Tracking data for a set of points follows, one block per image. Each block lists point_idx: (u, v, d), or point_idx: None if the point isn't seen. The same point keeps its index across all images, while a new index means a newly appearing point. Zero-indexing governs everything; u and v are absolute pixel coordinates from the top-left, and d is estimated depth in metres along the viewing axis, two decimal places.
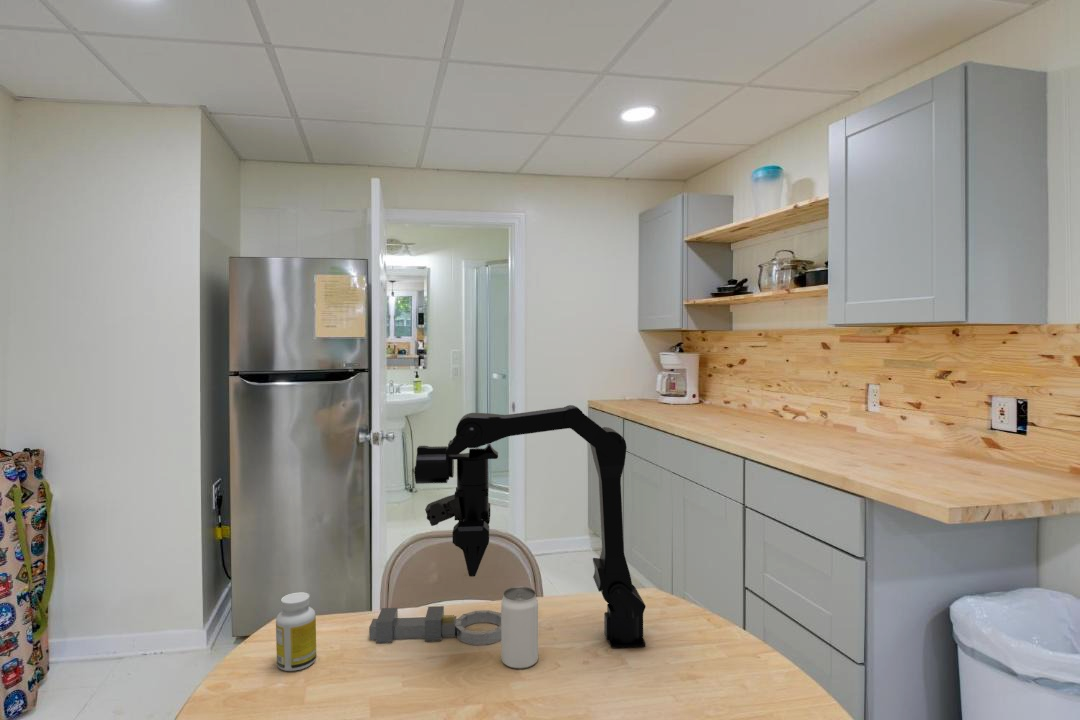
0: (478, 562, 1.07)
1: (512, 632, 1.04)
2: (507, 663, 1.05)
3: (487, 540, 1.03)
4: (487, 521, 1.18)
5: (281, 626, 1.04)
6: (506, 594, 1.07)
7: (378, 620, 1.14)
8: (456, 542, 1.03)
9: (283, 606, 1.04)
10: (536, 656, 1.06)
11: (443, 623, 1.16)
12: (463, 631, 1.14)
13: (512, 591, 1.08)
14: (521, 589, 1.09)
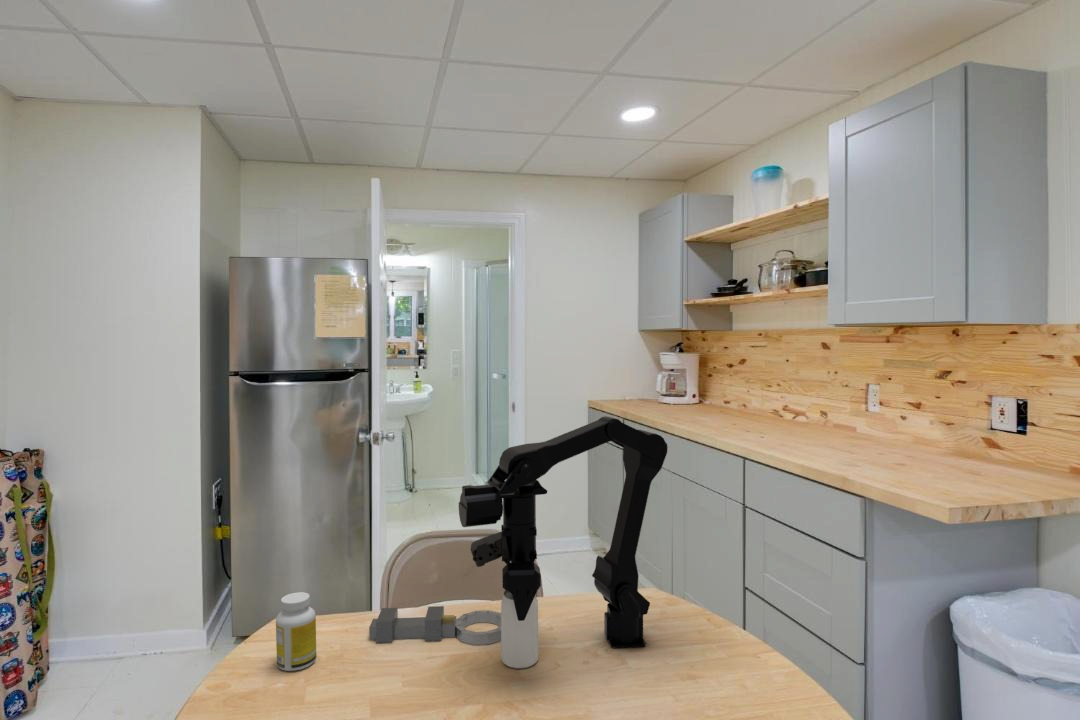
0: (528, 606, 1.02)
1: (512, 632, 1.04)
2: (507, 663, 1.05)
3: (539, 584, 0.98)
4: (532, 559, 1.12)
5: (281, 626, 1.04)
6: (506, 594, 1.07)
7: (378, 620, 1.14)
8: (507, 587, 0.97)
9: (283, 606, 1.04)
10: (536, 656, 1.06)
11: (443, 623, 1.16)
12: (463, 631, 1.14)
13: None
14: None
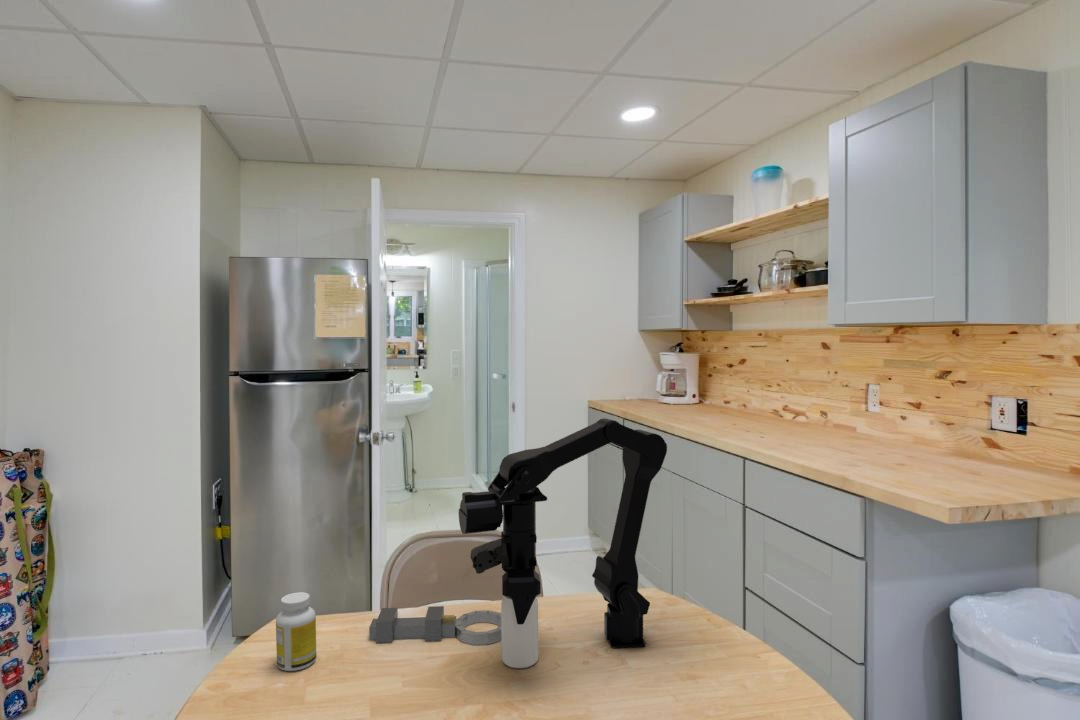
0: (527, 610, 1.03)
1: (512, 631, 1.04)
2: (507, 663, 1.05)
3: (539, 592, 0.98)
4: (532, 568, 1.11)
5: (281, 626, 1.04)
6: None
7: (378, 620, 1.14)
8: (506, 594, 0.97)
9: (283, 606, 1.04)
10: (536, 656, 1.06)
11: (443, 623, 1.16)
12: (463, 631, 1.14)
13: None
14: None
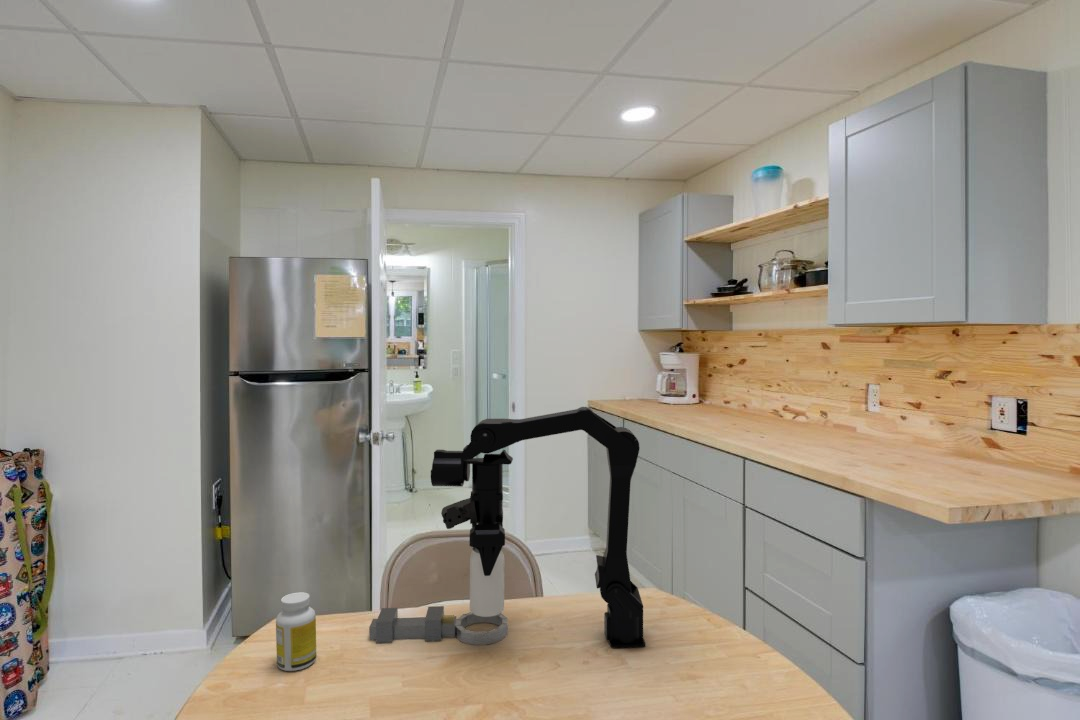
0: (493, 562, 1.11)
1: (479, 583, 1.12)
2: (475, 612, 1.13)
3: (503, 543, 1.06)
4: (500, 526, 1.19)
5: (281, 626, 1.04)
6: (474, 549, 1.15)
7: (378, 620, 1.14)
8: (473, 545, 1.06)
9: (283, 606, 1.04)
10: (502, 606, 1.14)
11: (443, 623, 1.16)
12: (463, 631, 1.14)
13: None
14: None
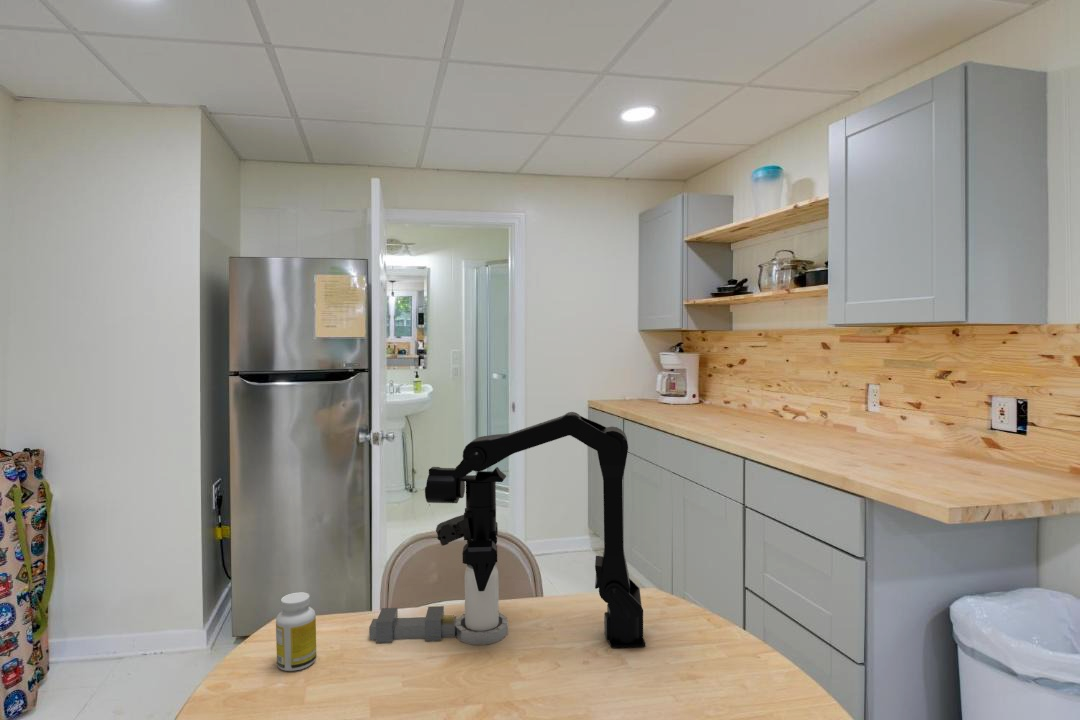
0: (487, 578, 1.13)
1: (473, 598, 1.15)
2: (469, 627, 1.15)
3: (495, 560, 1.09)
4: (494, 541, 1.22)
5: (281, 626, 1.04)
6: (469, 565, 1.18)
7: (378, 620, 1.14)
8: (466, 562, 1.08)
9: (283, 606, 1.04)
10: (496, 621, 1.16)
11: (443, 623, 1.16)
12: (463, 631, 1.14)
13: None
14: None
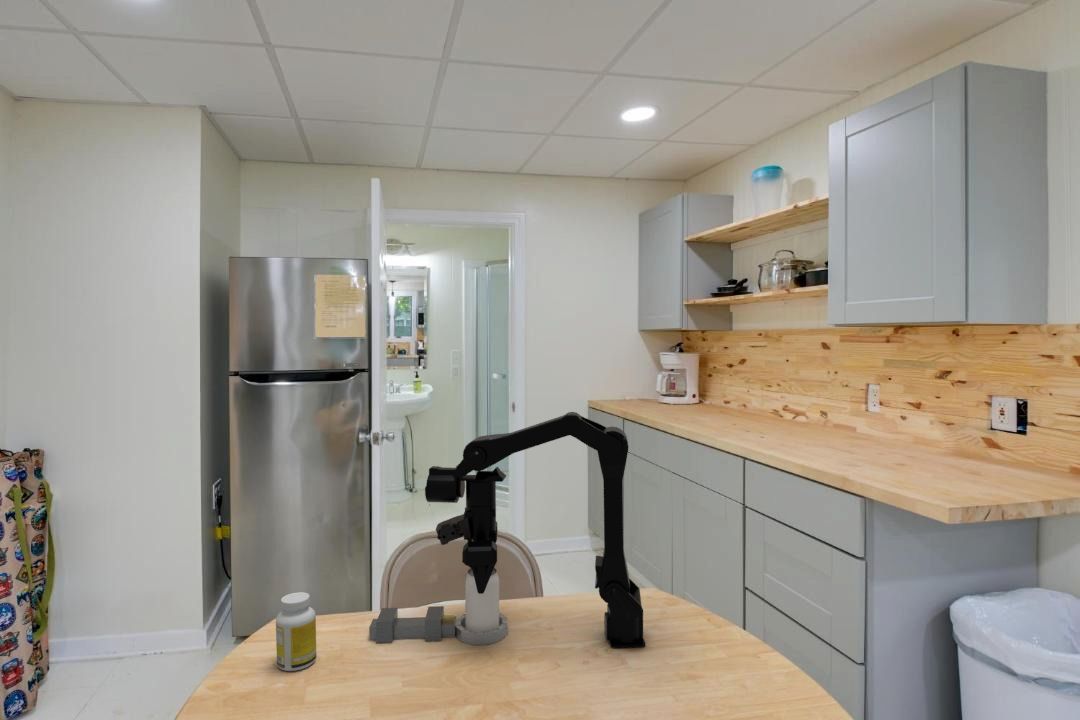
0: (486, 580, 1.12)
1: (474, 605, 1.15)
2: None
3: (495, 559, 1.09)
4: (494, 539, 1.23)
5: (281, 626, 1.04)
6: (470, 572, 1.18)
7: (378, 620, 1.14)
8: (466, 562, 1.08)
9: (283, 606, 1.04)
10: None
11: (443, 623, 1.16)
12: (463, 631, 1.14)
13: None
14: None
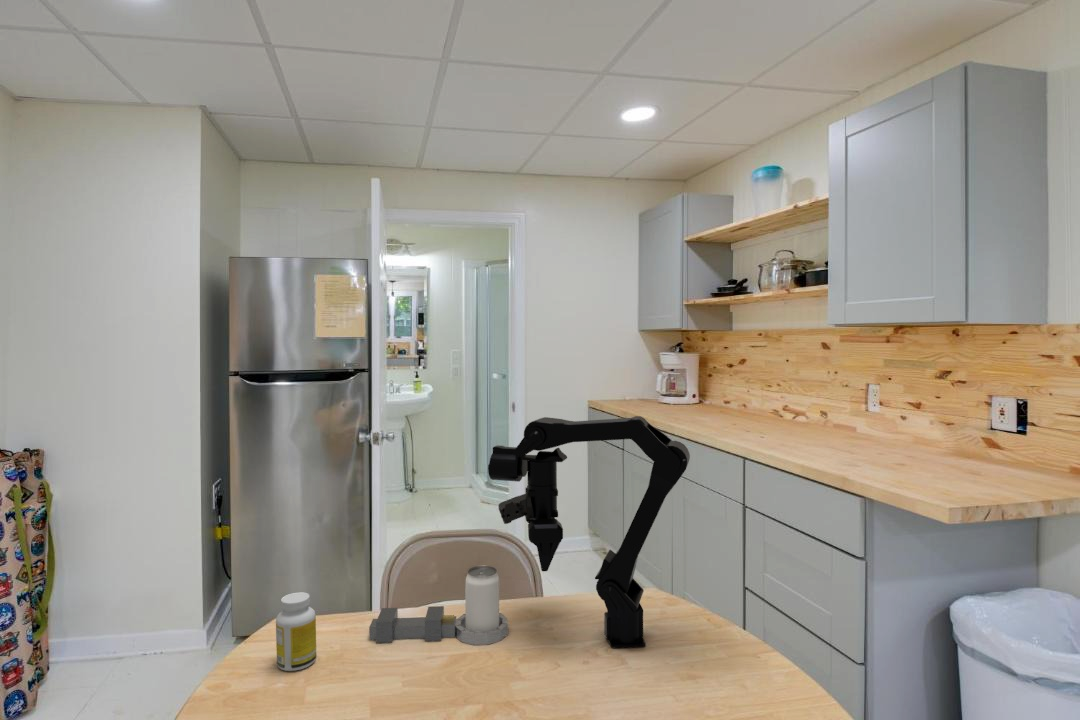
0: (551, 558, 1.14)
1: (474, 605, 1.15)
2: None
3: (561, 537, 1.10)
4: None
5: (281, 626, 1.04)
6: (470, 572, 1.18)
7: (378, 620, 1.14)
8: (533, 539, 1.10)
9: (283, 606, 1.04)
10: None
11: (443, 623, 1.16)
12: (463, 631, 1.14)
13: (476, 569, 1.19)
14: (484, 568, 1.20)
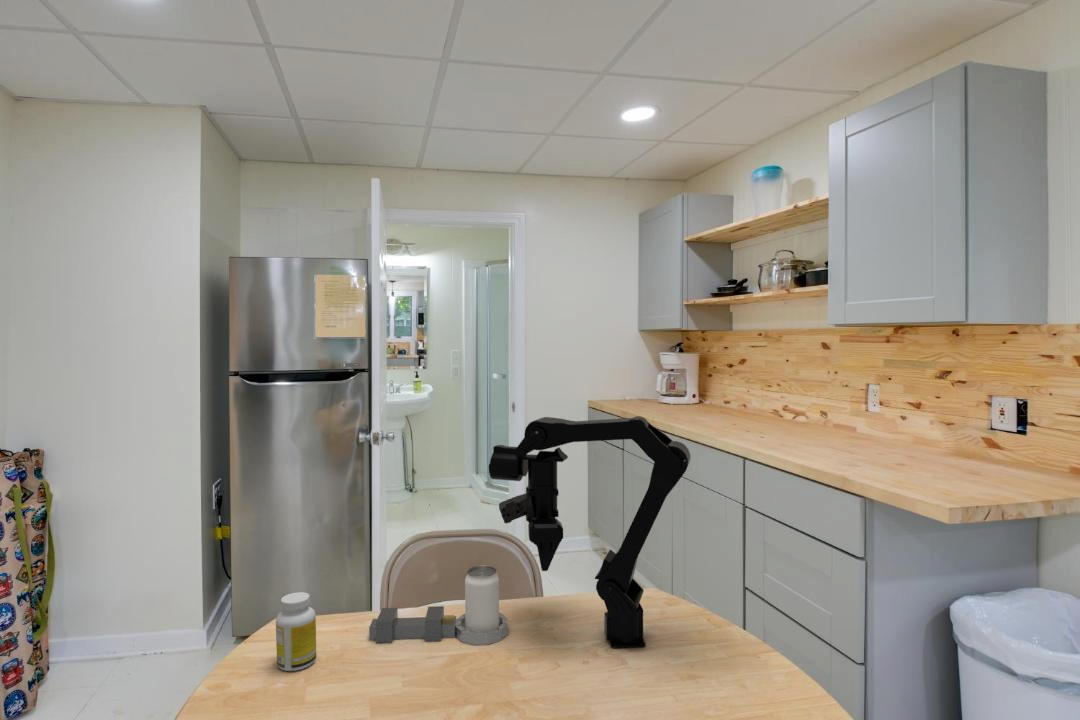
0: (551, 557, 1.14)
1: (474, 605, 1.15)
2: None
3: (561, 537, 1.10)
4: (553, 519, 1.24)
5: (281, 626, 1.04)
6: (469, 572, 1.18)
7: (378, 620, 1.14)
8: (533, 538, 1.10)
9: (283, 606, 1.04)
10: None
11: (443, 623, 1.16)
12: (463, 631, 1.14)
13: (476, 569, 1.19)
14: (484, 568, 1.20)
